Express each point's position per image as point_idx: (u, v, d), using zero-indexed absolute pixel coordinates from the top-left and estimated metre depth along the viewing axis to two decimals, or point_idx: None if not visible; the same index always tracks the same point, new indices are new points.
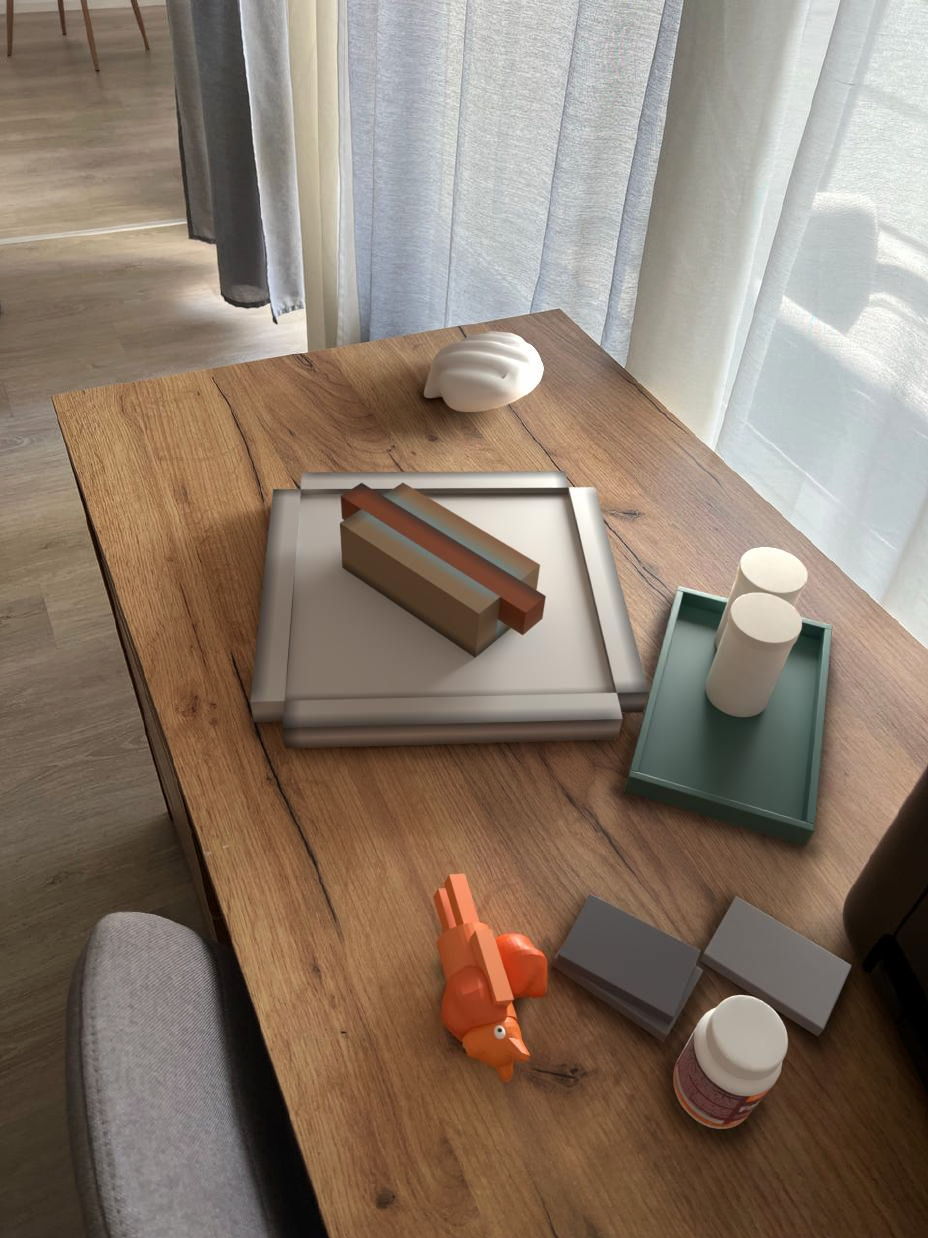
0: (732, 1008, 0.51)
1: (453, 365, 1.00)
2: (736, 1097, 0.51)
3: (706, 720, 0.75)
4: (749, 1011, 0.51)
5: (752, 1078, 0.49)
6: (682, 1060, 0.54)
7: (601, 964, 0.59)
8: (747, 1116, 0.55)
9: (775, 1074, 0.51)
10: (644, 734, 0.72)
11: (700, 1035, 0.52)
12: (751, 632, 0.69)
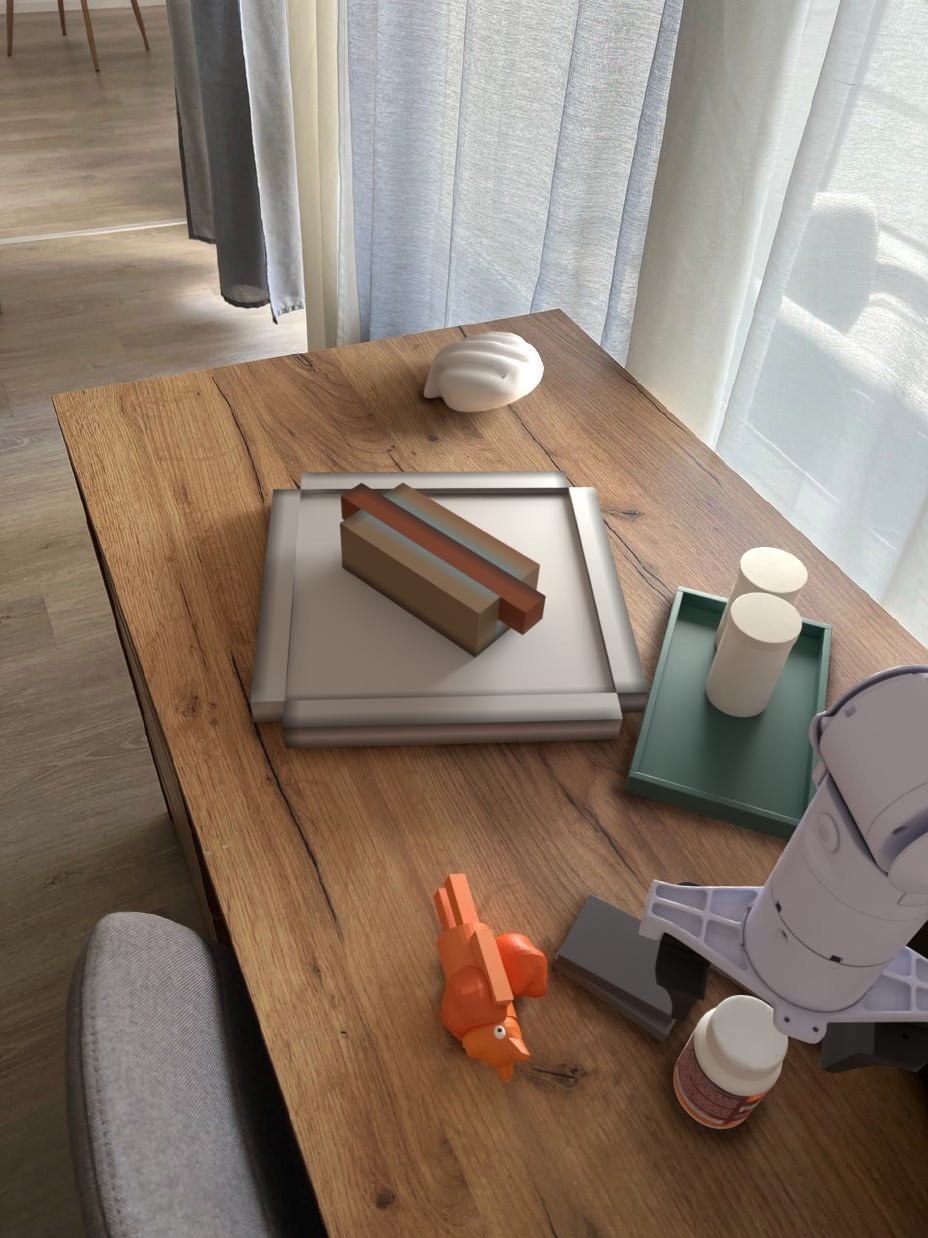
0: (732, 1008, 0.51)
1: (453, 365, 1.00)
2: (736, 1097, 0.51)
3: (706, 720, 0.75)
4: (749, 1011, 0.51)
5: (752, 1079, 0.49)
6: (682, 1060, 0.54)
7: (601, 964, 0.59)
8: (747, 1116, 0.55)
9: (775, 1074, 0.51)
10: (644, 734, 0.72)
11: (700, 1035, 0.52)
12: (751, 632, 0.69)
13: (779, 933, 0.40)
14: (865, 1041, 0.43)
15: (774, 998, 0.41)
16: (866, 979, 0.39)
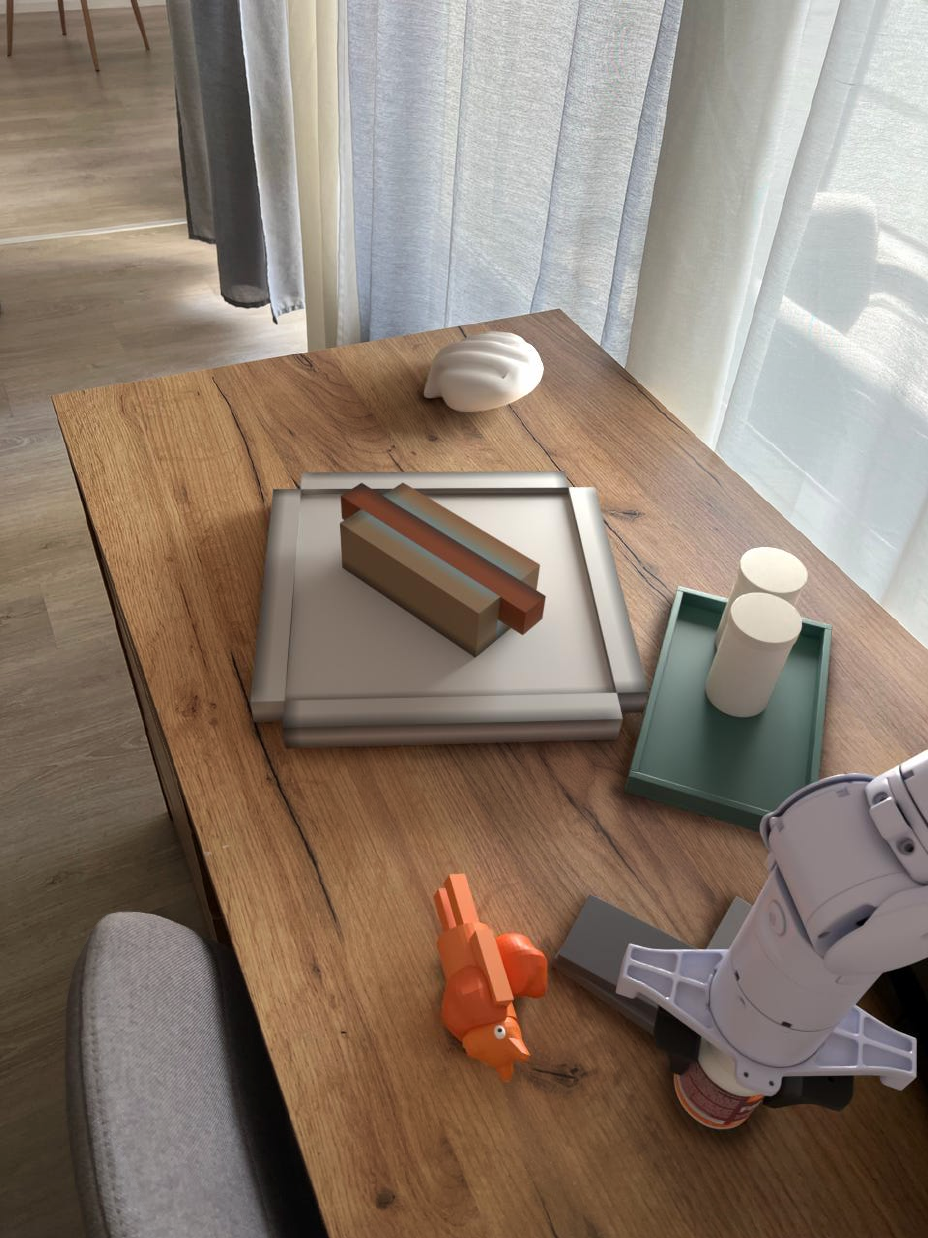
0: None
1: (453, 365, 1.00)
2: (737, 1097, 0.51)
3: (706, 720, 0.75)
4: None
5: None
6: None
7: (601, 964, 0.59)
8: (748, 1116, 0.55)
9: None
10: (644, 734, 0.72)
11: None
12: (751, 632, 0.69)
13: (738, 999, 0.45)
14: (796, 1083, 0.48)
15: (735, 1054, 0.46)
16: (815, 1041, 0.44)
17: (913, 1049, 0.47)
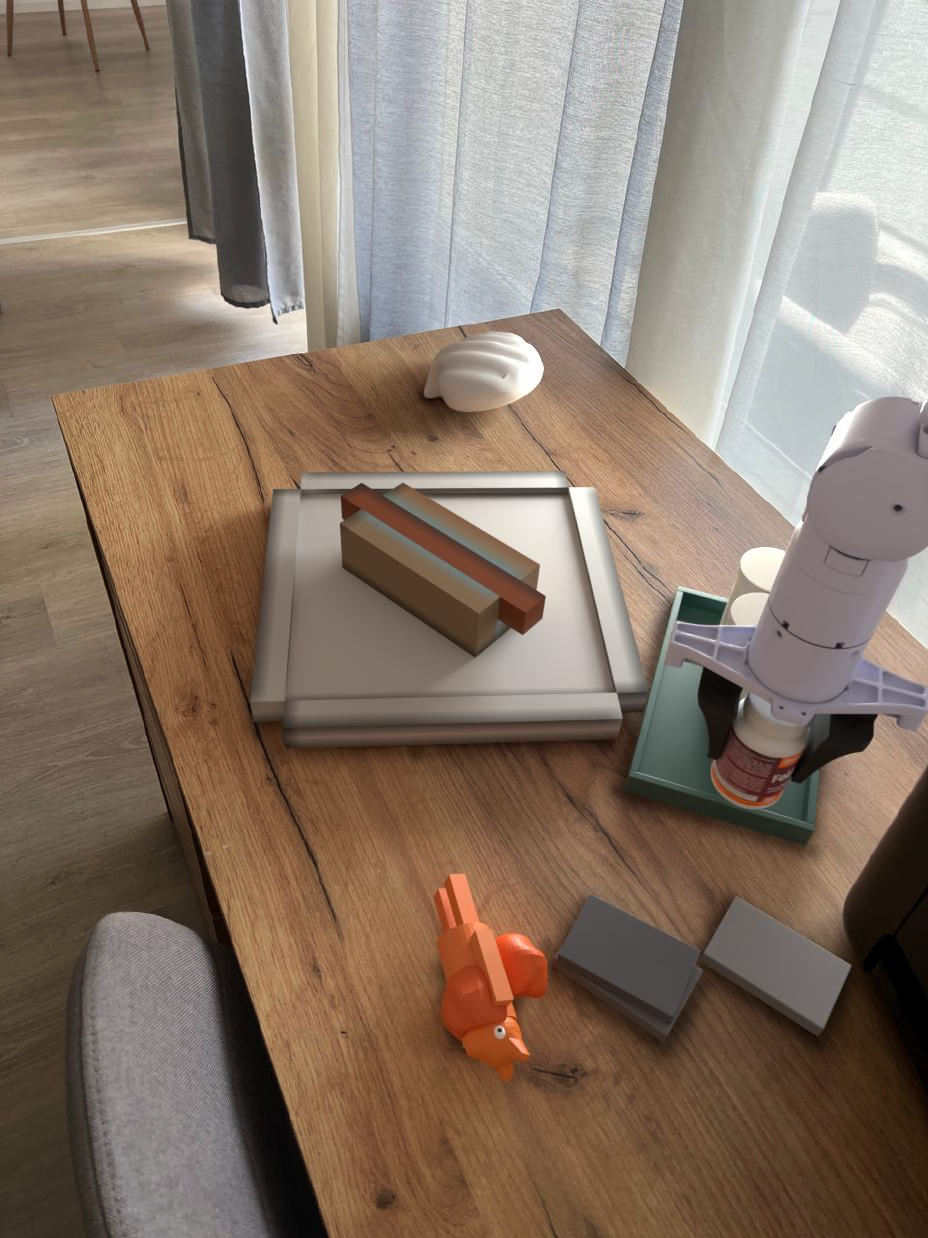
0: None
1: (453, 365, 1.00)
2: (770, 759, 0.57)
3: None
4: None
5: (785, 737, 0.56)
6: None
7: (601, 964, 0.59)
8: (777, 799, 0.61)
9: (804, 740, 0.57)
10: (644, 734, 0.72)
11: None
12: None
13: (775, 634, 0.51)
14: (823, 734, 0.55)
15: (771, 694, 0.53)
16: (842, 665, 0.51)
17: (926, 692, 0.54)
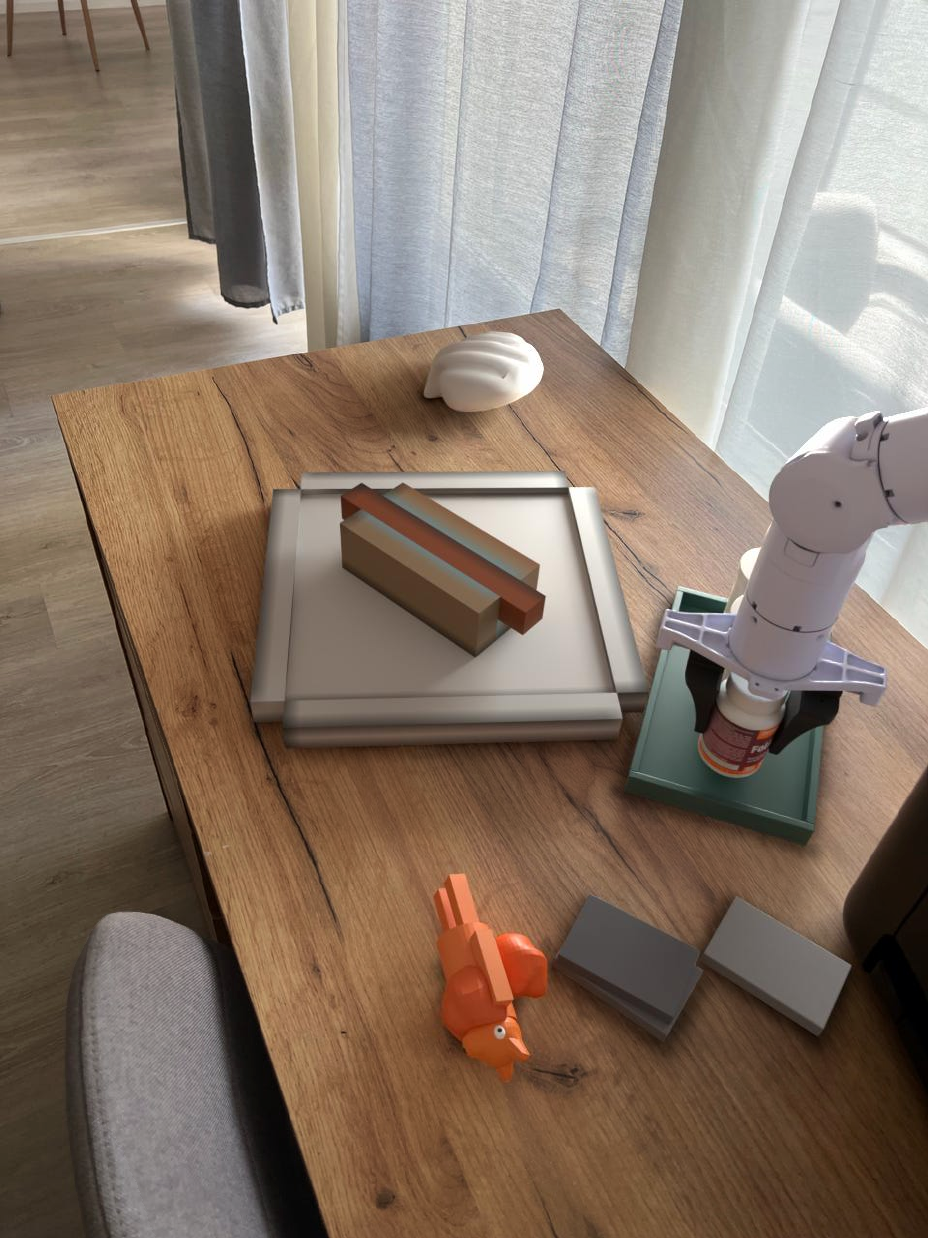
0: None
1: (453, 365, 1.00)
2: (749, 732, 0.65)
3: None
4: None
5: (762, 711, 0.64)
6: None
7: (601, 964, 0.59)
8: (757, 768, 0.69)
9: (779, 714, 0.65)
10: (644, 734, 0.72)
11: (721, 690, 0.66)
12: None
13: (751, 620, 0.59)
14: (795, 709, 0.63)
15: (749, 673, 0.61)
16: (809, 647, 0.58)
17: (884, 672, 0.61)
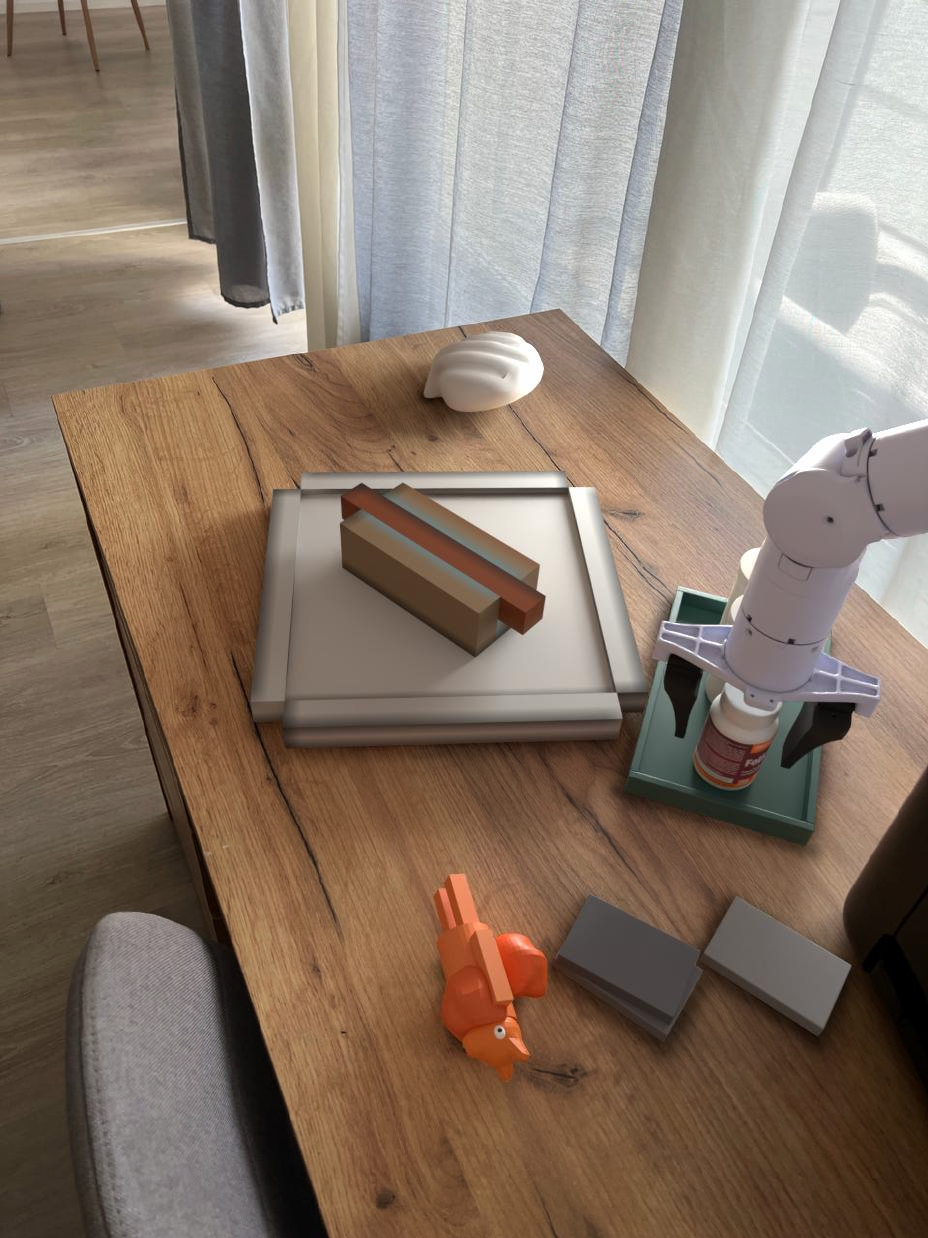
0: None
1: (453, 365, 1.00)
2: (743, 746, 0.66)
3: None
4: None
5: (755, 726, 0.65)
6: (700, 737, 0.70)
7: (601, 964, 0.59)
8: (751, 781, 0.70)
9: (773, 729, 0.66)
10: (644, 734, 0.72)
11: (715, 705, 0.67)
12: None
13: (746, 632, 0.60)
14: (807, 724, 0.63)
15: (744, 684, 0.61)
16: (804, 659, 0.59)
17: (878, 683, 0.62)
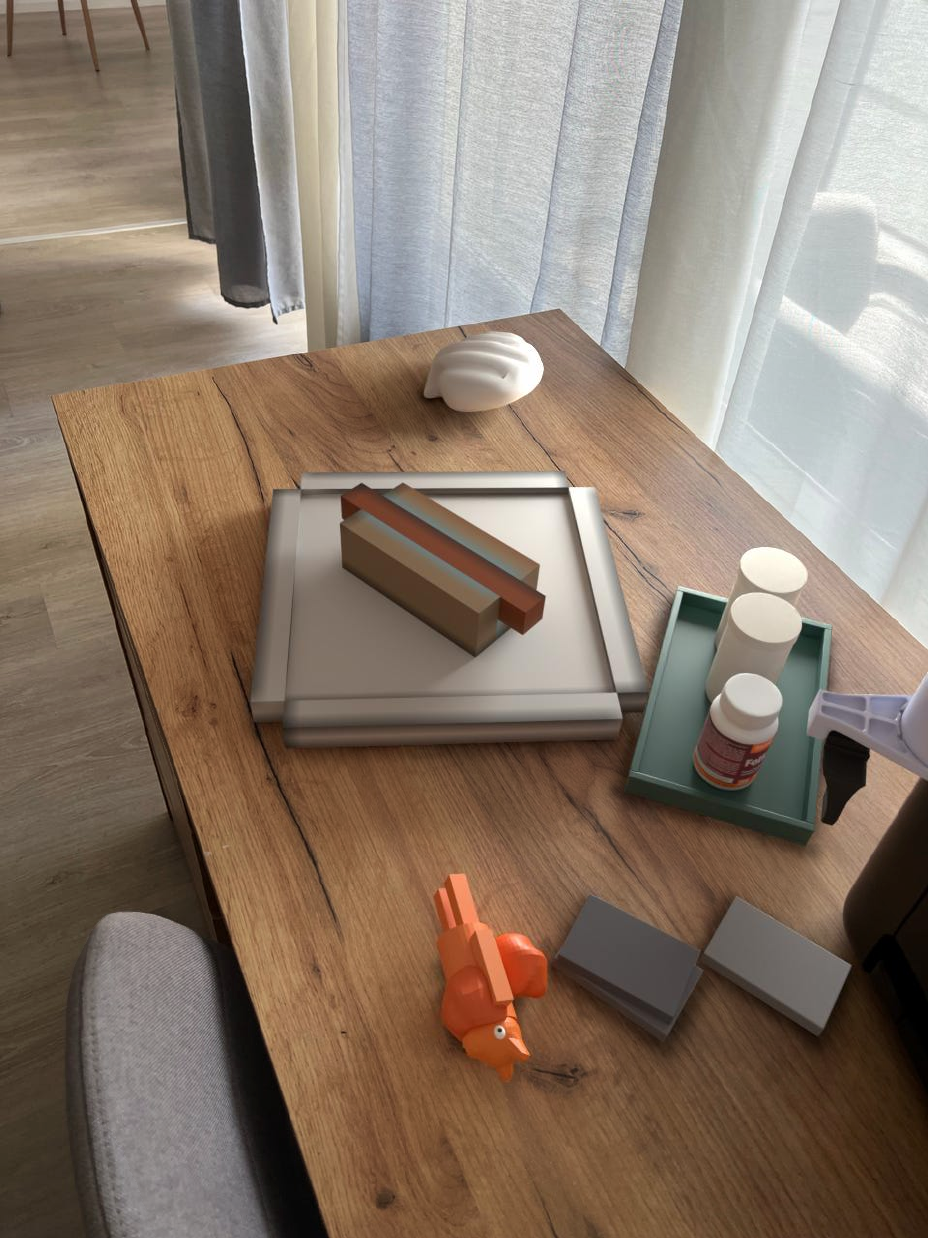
0: (740, 680, 0.67)
1: (453, 365, 1.00)
2: (743, 746, 0.66)
3: None
4: (753, 682, 0.66)
5: (755, 726, 0.65)
6: (700, 737, 0.70)
7: (601, 964, 0.59)
8: (751, 781, 0.70)
9: (773, 729, 0.66)
10: (644, 734, 0.72)
11: (715, 705, 0.67)
12: (751, 632, 0.69)
13: None
14: None
15: None
16: None
17: None
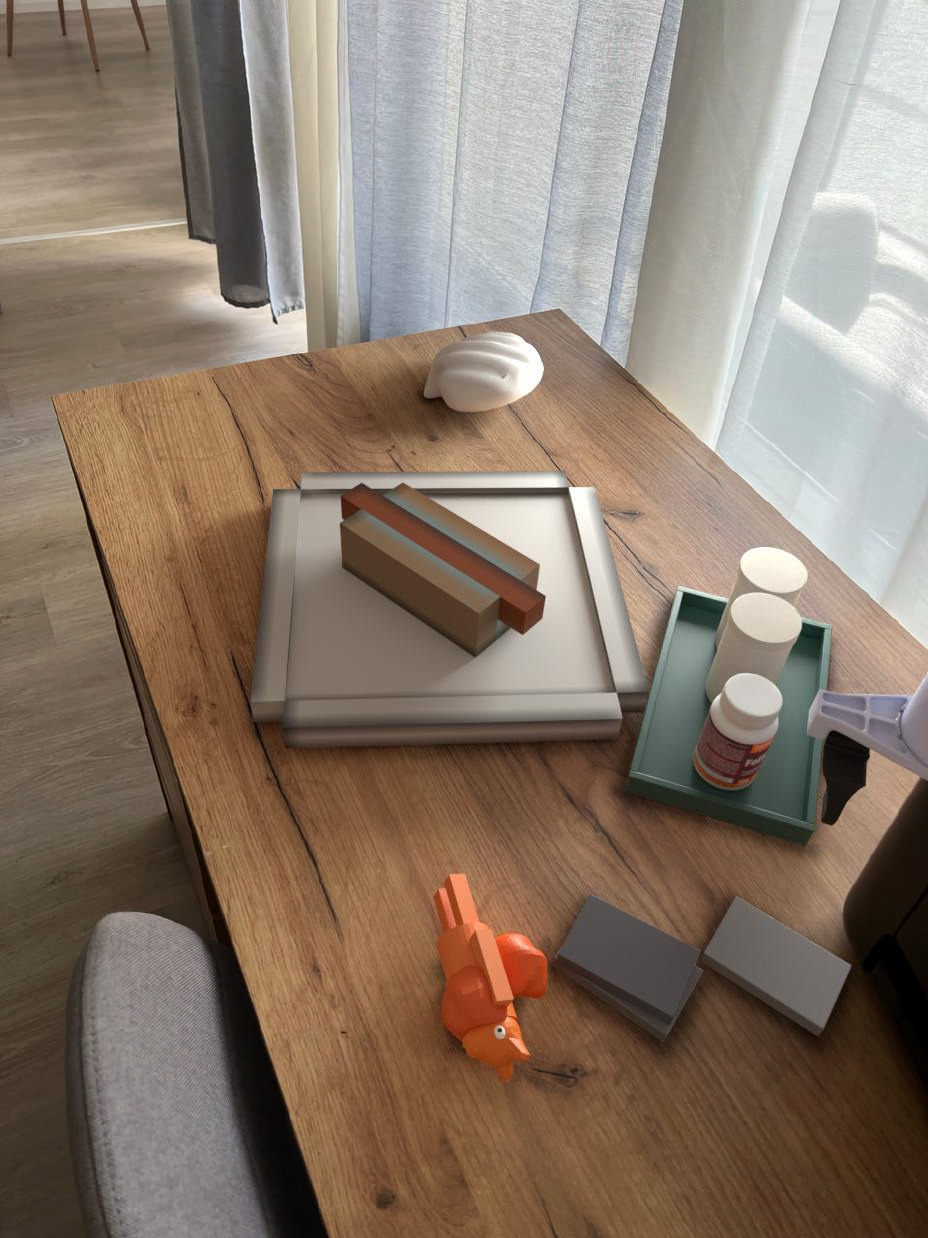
0: (740, 680, 0.67)
1: (453, 365, 1.00)
2: (743, 746, 0.66)
3: None
4: (753, 682, 0.66)
5: (755, 726, 0.65)
6: (700, 737, 0.70)
7: (601, 964, 0.59)
8: (751, 781, 0.70)
9: (773, 729, 0.66)
10: (644, 734, 0.72)
11: (715, 705, 0.67)
12: (751, 632, 0.69)
13: None
14: None
15: None
16: None
17: None
